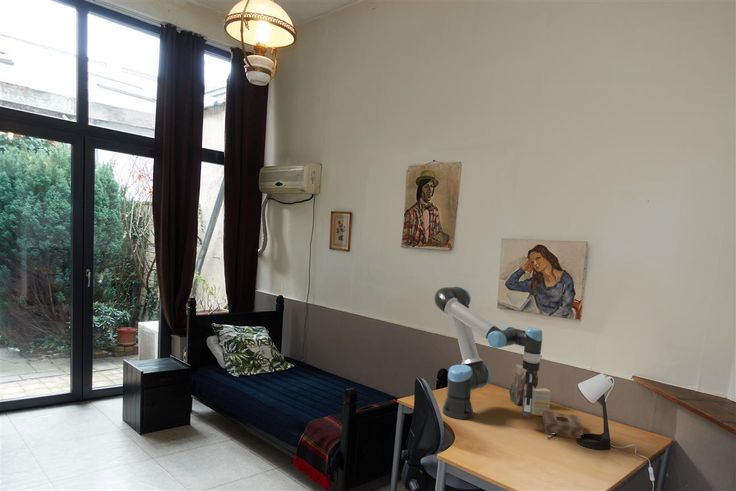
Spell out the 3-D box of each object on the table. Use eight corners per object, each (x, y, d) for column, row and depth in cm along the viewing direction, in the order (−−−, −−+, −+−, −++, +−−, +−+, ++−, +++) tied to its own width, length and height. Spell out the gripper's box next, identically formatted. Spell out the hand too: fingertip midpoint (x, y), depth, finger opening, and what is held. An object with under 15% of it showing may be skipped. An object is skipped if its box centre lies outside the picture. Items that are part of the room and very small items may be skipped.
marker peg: (521, 415, 215) (524, 386, 214) (521, 412, 219) (524, 383, 218) (531, 417, 214) (534, 388, 213) (530, 414, 218) (533, 385, 217)
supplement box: (546, 413, 237) (547, 388, 237) (549, 417, 232) (550, 391, 232) (529, 411, 238) (531, 387, 237) (532, 415, 233) (534, 390, 233)
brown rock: (507, 397, 258) (509, 362, 257) (529, 398, 259) (531, 363, 258) (516, 406, 245) (519, 369, 245) (539, 406, 246) (541, 370, 246)
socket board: (545, 433, 212) (545, 422, 211) (542, 420, 227) (543, 410, 227) (582, 439, 207) (583, 428, 207) (577, 426, 222) (578, 416, 222)
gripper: (541, 367, 206) (536, 417, 207) (538, 357, 222) (534, 404, 223) (523, 364, 208) (519, 414, 209) (522, 355, 224) (518, 401, 225)
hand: (526, 409), depth 216 cm, fingers closed on marker peg, 4 cm apart
